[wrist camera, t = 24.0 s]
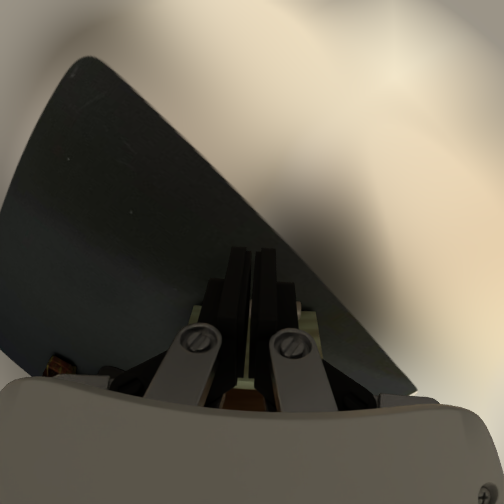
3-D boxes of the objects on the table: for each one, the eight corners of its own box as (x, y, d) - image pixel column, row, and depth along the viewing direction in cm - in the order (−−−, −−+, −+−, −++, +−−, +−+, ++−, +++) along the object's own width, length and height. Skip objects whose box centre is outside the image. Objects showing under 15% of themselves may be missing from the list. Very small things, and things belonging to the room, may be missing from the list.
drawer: (188, 257, 26) (160, 326, 19) (325, 264, 26) (343, 336, 19) (205, 382, 37) (195, 438, 29) (296, 387, 37) (298, 444, 29)
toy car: (46, 345, 38) (34, 365, 34) (80, 363, 40) (69, 385, 35) (53, 376, 44) (44, 394, 40) (82, 392, 46) (74, 411, 41)
